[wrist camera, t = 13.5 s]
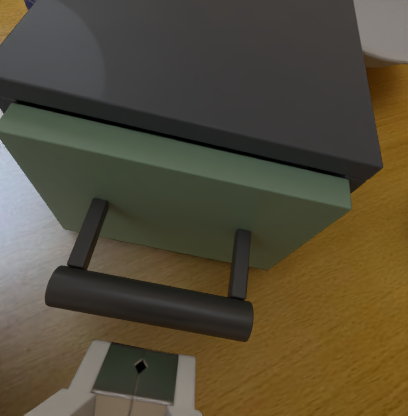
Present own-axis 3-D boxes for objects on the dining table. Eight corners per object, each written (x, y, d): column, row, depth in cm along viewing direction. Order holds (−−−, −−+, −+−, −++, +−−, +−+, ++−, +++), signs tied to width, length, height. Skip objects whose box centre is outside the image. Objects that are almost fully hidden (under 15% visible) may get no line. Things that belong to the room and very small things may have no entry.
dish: (235, -6, 31) (249, -67, 26) (347, -2, 34) (376, -54, 30) (295, 117, 23) (328, 62, 19) (429, 107, 27) (483, 59, 23)
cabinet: (272, 257, 18) (384, 168, 9) (65, 215, 17) (-24, 72, 8) (279, 95, 24) (346, -42, 16) (133, 59, 24) (122, -106, 15)
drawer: (263, 353, 14) (368, 352, 7) (29, 310, 13) (-101, 266, 6) (275, 104, 22) (329, -6, 16) (132, 69, 22) (122, -63, 15)
